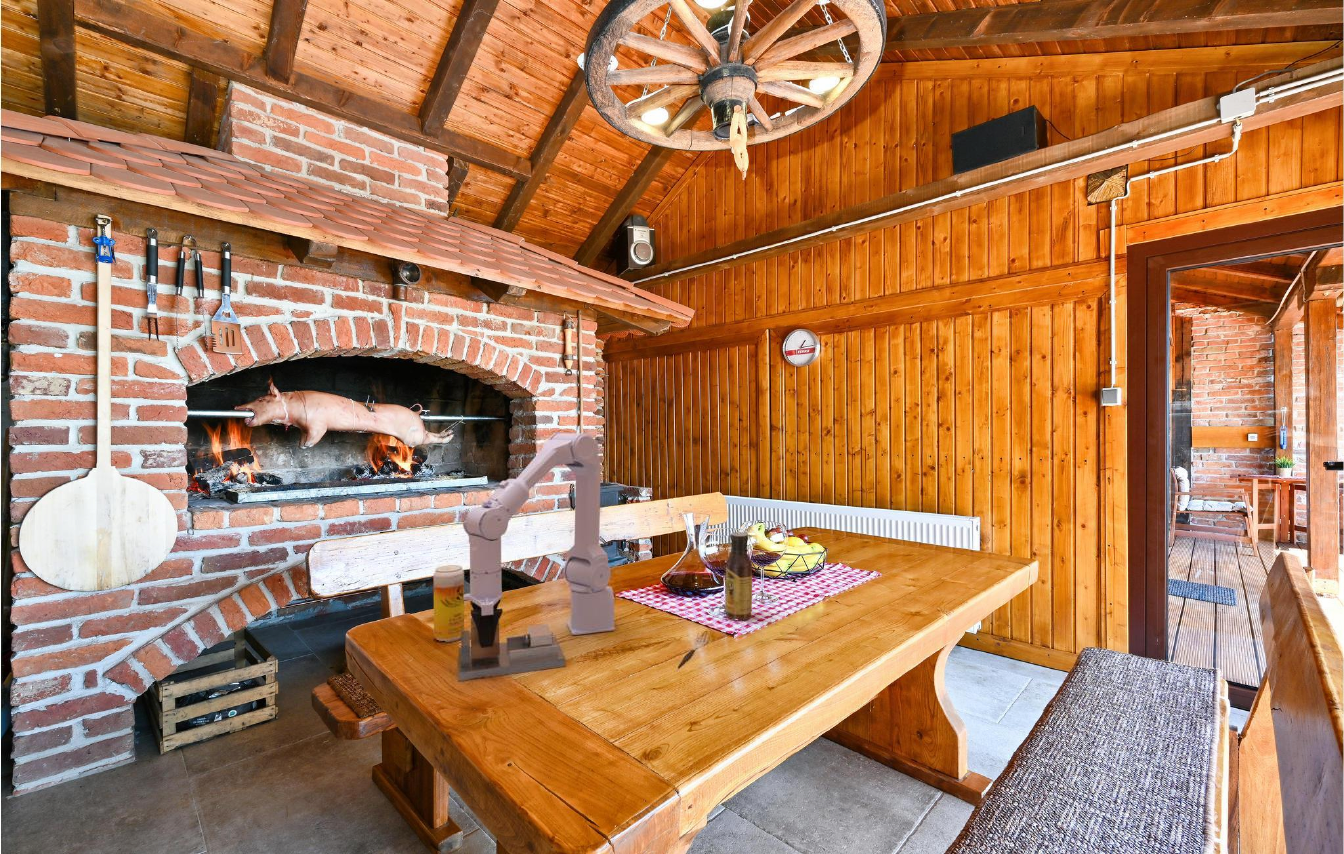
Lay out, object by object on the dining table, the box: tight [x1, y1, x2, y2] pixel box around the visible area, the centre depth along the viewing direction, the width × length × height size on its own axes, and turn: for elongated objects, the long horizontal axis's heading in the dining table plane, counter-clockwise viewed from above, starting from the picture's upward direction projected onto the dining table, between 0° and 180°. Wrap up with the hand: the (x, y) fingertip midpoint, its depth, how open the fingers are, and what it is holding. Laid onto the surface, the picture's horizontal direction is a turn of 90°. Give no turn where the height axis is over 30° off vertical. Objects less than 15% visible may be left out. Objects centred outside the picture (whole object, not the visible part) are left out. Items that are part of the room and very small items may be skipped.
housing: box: [470, 617, 500, 659], centre depth 113 cm, size 5×5×7 cm
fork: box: [677, 631, 710, 669], centre depth 119 cm, size 3×16×2 cm, turn 159°
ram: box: [522, 623, 553, 648], centre depth 117 cm, size 5×6×4 cm
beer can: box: [433, 564, 465, 643], centre depth 127 cm, size 6×6×15 cm
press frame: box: [457, 630, 566, 682], centre depth 115 cm, size 19×12×6 cm, turn 109°
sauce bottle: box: [724, 531, 753, 621], centre depth 140 cm, size 7×6×20 cm
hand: (486, 641), depth 114 cm, fingers closed on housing, 5 cm apart
